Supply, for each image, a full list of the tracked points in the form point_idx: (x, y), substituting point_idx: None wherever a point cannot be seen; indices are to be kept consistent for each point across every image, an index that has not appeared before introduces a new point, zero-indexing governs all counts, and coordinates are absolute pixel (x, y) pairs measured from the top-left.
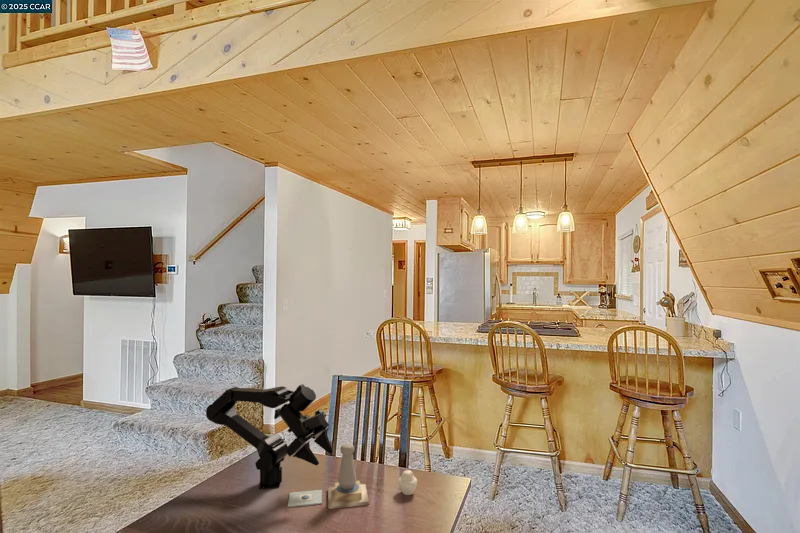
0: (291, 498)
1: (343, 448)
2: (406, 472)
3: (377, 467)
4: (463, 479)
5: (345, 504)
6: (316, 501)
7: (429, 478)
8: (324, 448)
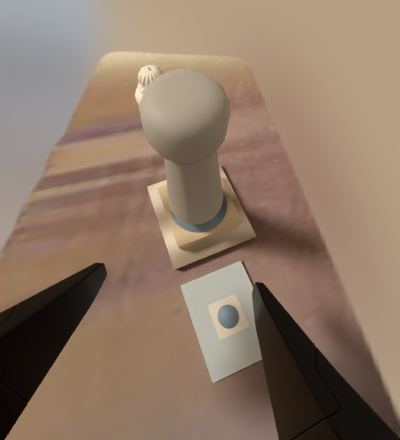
0: (242, 359)
1: (224, 111)
2: (154, 70)
3: (52, 189)
4: (108, 53)
5: (238, 202)
6: (238, 276)
7: (105, 93)
8: (74, 323)
